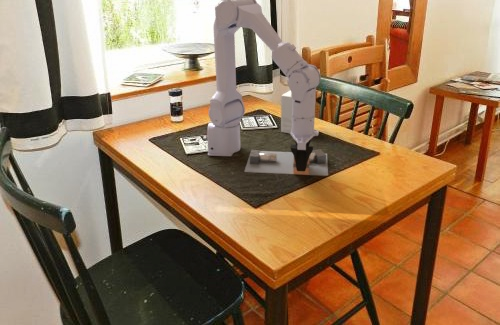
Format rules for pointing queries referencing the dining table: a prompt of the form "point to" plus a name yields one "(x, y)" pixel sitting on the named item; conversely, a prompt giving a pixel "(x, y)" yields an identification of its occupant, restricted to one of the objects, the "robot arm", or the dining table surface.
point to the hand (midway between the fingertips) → (301, 164)
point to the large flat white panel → (285, 165)
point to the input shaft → (262, 157)
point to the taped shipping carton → (301, 171)
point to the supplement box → (286, 112)
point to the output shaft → (317, 156)
